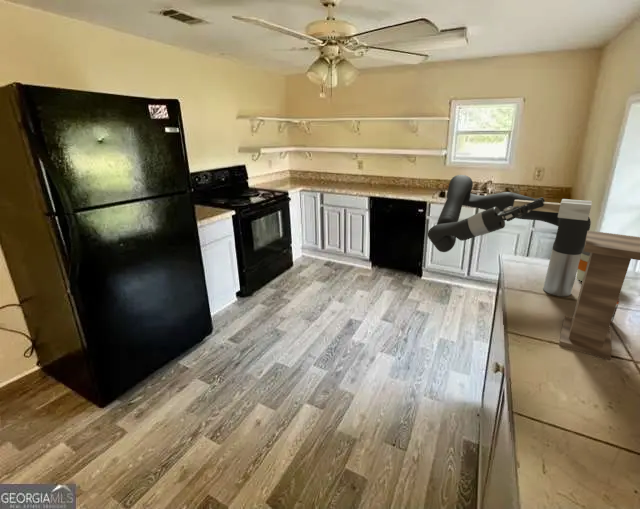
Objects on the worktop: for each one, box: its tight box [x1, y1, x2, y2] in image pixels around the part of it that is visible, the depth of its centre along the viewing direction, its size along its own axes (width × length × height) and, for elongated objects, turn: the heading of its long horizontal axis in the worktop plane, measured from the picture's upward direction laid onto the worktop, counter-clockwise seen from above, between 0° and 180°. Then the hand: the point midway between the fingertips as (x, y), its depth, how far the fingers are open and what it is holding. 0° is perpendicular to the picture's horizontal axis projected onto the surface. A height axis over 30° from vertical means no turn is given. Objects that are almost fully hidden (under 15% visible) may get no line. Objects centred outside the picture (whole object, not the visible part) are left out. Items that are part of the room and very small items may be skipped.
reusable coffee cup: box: [576, 246, 590, 282], centre depth 141 cm, size 13×13×15 cm
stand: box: [558, 230, 640, 361], centre depth 100 cm, size 18×12×32 cm, turn 142°
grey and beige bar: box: [513, 198, 593, 221], centre depth 101 cm, size 6×19×4 cm, turn 52°
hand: (543, 201), depth 101 cm, fingers closed on grey and beige bar, 2 cm apart
